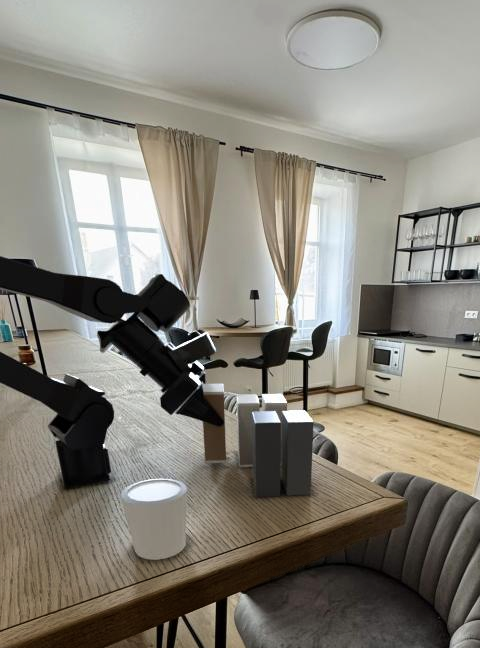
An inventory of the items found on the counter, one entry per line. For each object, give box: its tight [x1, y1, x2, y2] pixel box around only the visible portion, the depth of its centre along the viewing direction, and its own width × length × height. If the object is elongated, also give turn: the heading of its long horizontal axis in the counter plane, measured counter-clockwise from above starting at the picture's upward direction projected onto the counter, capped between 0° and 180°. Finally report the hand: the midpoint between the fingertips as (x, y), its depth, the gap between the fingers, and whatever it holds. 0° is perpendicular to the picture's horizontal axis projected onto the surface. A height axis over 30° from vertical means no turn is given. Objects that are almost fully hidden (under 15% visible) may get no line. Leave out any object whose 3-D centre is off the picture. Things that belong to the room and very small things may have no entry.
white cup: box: [120, 478, 188, 561], centre depth 46 cm, size 7×7×7 cm
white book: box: [261, 393, 288, 467], centre depth 72 cm, size 4×7×11 cm, turn 7°
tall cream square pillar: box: [202, 383, 227, 464], centre depth 70 cm, size 4×7×12 cm, turn 8°
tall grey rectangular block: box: [252, 410, 281, 498], centre depth 60 cm, size 4×6×11 cm, turn 7°
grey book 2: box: [280, 410, 315, 497], centre depth 61 cm, size 4×6×11 cm, turn 7°
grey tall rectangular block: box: [236, 393, 261, 468], centre depth 71 cm, size 4×7×11 cm, turn 7°
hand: (222, 418), depth 70 cm, fingers closed on tall cream square pillar, 7 cm apart
